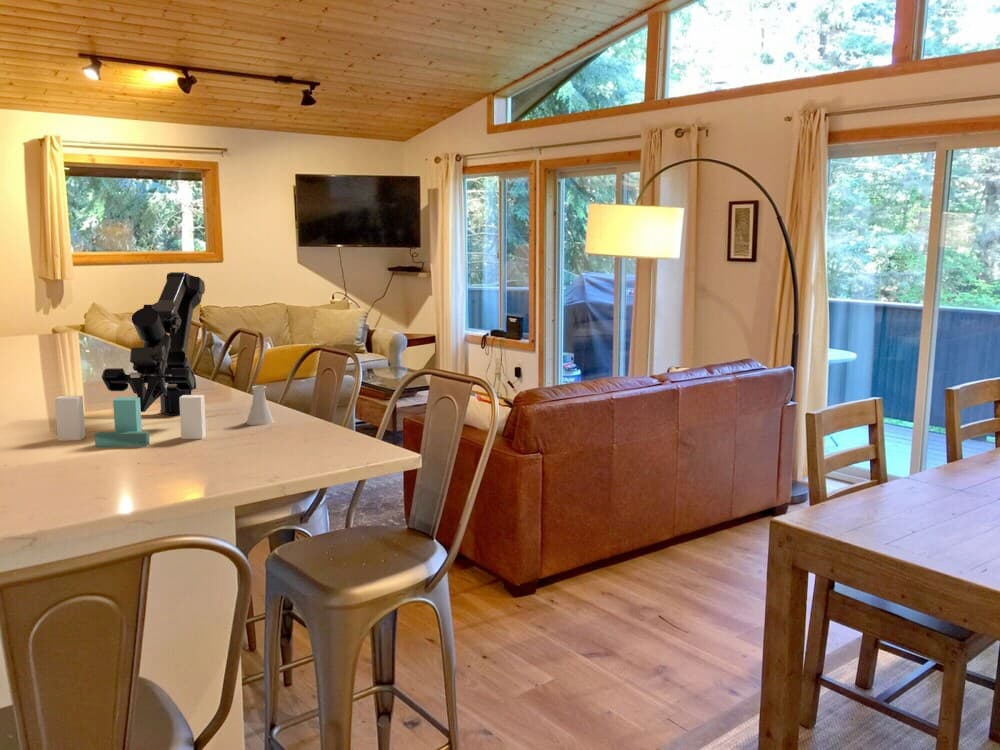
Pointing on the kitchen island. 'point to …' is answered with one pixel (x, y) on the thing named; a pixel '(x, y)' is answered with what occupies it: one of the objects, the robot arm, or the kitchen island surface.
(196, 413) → the grey key
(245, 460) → the kitchen island surface
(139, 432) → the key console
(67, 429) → the grey key
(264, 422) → the flask
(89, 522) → the kitchen island surface
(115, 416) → the teal key
